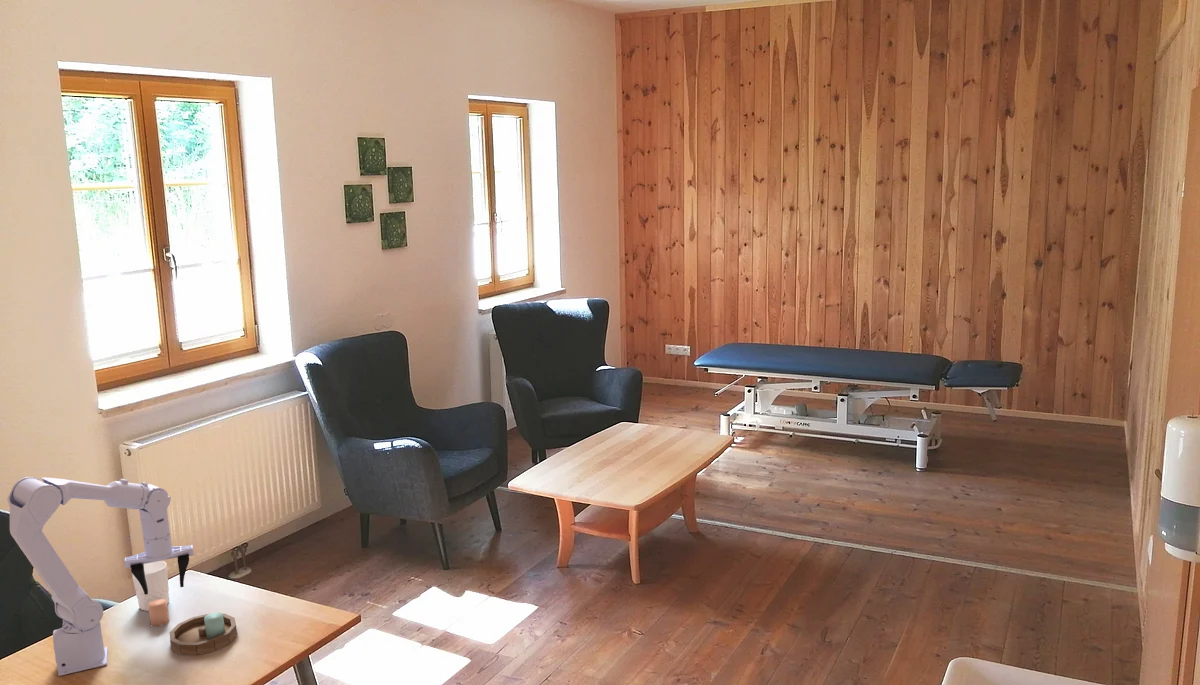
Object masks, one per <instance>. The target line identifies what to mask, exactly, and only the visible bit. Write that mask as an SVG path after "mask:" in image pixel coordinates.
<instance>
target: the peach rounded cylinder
mask: <svg viewBox="0 0 1200 685" xmlns="http://www.w3.org/2000/svg"><path fill="white" fill-rule="evenodd" d="M148 608H149V611H148V615H149V620H150V626H151V625H152V626H151V627H154V626H158V627H162V626H165V625H166V623H167V624H168V623H169V622H170V617H169V610H168V604H167V602H166V600H165V599H158V600H154V601H152V602H150V603H149V604H148ZM164 624H165V625H164Z"/></svg>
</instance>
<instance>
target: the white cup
mask: <svg viewBox="0 0 1200 685" xmlns="http://www.w3.org/2000/svg"><path fill="white" fill-rule="evenodd" d="M167 565H168V564H167V562H166V561H165V560H161V561H156V562H151V563H146V564H144V572H145V579H146V583H147V587H148V594H146V595H145V594H144V591H143V588H142V586H141V584H140V583H139V581H138V580H137V579H136V577H135V576H134V575H133V574H132V573H131V576H132V581H133V582H132V583H133V586H134V591H135V595H136V598H137V602H138V607H139V609H140V610H142V611H147V612H149V608H148V604H149V603H150V602H152V601H154V600H158V599H165V600H166V602H167V605H168V604H169V603H170V594H169V589H170V588H169V576H168V566H167Z"/></svg>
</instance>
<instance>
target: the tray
mask: <svg viewBox="0 0 1200 685" xmlns="http://www.w3.org/2000/svg"><path fill="white" fill-rule="evenodd" d="M208 614H209V613H206V614H202V615H197V616H192V617H190V618H189V619H185V620H183V621H182V622H179V623H178V624H176V626H175V627H174V628H172V630H170V631H169V641H170V642H169V643H170V649H171V651H172V652H175V653H177V654H178V655H180V656H199V655H203V654H208V653H212V652H215V651H218V650H219V649H220V650H221V649H222V648H224V647H225V646H228V645H229V644H231V643H232V641H233V640H234V639H235V638H236V637H237V635H238V629H237V623H236V619H235V617H234V616H231V615H228V614H226V613H222V614H223V619H224V627H225V633H223V634H221V635H219V636H217V637H215V638H213V639H210V640H207V636H206V629H205V621H204V617H205V616H206V615H208Z"/></svg>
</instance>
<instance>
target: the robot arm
mask: <svg viewBox="0 0 1200 685" xmlns="http://www.w3.org/2000/svg"><path fill="white" fill-rule="evenodd" d="M40 479H41V480H42V481H41V480H40ZM40 479H38V478H36V477H33V476H25V477H23V478H20V479H19V480H17V481H16V483H14V484H13V486H12V488H11V490H10V492H9V495H8V496H7V503H8V505H9V506H8V507H9V533H10V536H11V537H12V538H13V539H14V541H15V542H16V544H17V546H18V547H19V548H20V550H21V551H22V552H23V555H24V556H26V558H27V560H28V561H29V563H30V565H31V566H32V567H33V569H34V570H35V572H36V573H37V574H38V576H39V577H40V579H41V580H42V582H43V583H44V585H45V586H46V587H47V589H48V590H49V591H50V593H51V600H52V601H53V603H54V611H55V614H56V616H57V617H58V618H60V619H62V625H61V626H62V627H60V628H57V629H54V630H53V632H52V643H53V644H52V645H53V650H54V658H55V659H54V660H55V663H56V668H57V676H58V677H61V676H65V675H68V674H74V673H78V672H82V671H87V670H91V669H95V668H100V667H102V666H106V665H107V664H108V654H109V652H108V648H109V647H108V646H105V645H104V639H103V634H102V633H103V631H102V626H101V620H102V618H103V615H104V608H103V606H102V604H101V603H100V602H98V601H96V600H93V599H92V598H91V597H90V595H89V594H88V593H87V592H86V591H85V590H84V589H83V588H82V587H81V586H79V585H80V584H78V583H77V580H75V578H74V577H73V575H72V574H71V572H70V570H69V569H68V568H67V566H66V564H65V563H64V562H63V560H62V559H61V557H60V556H59V554H58V553H57V551H56V550H55V548H54V546H53V545H52V543H51V542H50V541H49V540H48V538H47V536H46V535H45V533H44V531H43V528H44V526H45V525H46V523H47V522H48V521H49V519H51V517H52V516H53V515H54V513H56V510H57V509H59V507H60V505H62V506H65V505H66V504H68V502H69V501H71V500H72V499H79V500H81V499H82V500H94V501H95V500H96V501H97V500H98V501H104V502H105V504H106V506H108V507H109V508H117V509H118V508H119V509H129V510H130V509H131V510H138V511H139V517H140V526H141V532H142V540H143V546H144V551H143V552H141V553H138V554H134V555H131V556H127V557H126V556H125V557H124V565H125V566H124V567H125V569H130V570H131V575H132V574H133V575H134V576H135V577H136V579H137V580H138V581H139V583H140V584H141V586H142V588H143V591H144V594H145V595H146V594H148V587H147V583H146V579H145V572H144V564H146V563H151V562H156V561H167V560H171V559H175V558H176V559H177V566H178V571H179V574H178V575H179V587H180V588H184V586H185V583H184V582H185V575H186V571H187V568H188V565H189V564H190V563H189V562H190V557H192V556H195V554H194V547H193V546H194V545H193V544H190V545H180V546H177V545H176V546H173V545H172V537H171V530H170V529H171V528H170V523H169V516H168V508H169V506H170V505H171V500H172V499H171V496H170V495H169V493H168V491H167V490H165V488H163V487H160V486H157V485H155V484H151V483H148V482H144V481H142V482H141V483H137V482H136V483H133V482H129V480H128V479H125V478H119V480H118V481H117V480H113V481H111V482H109V483H108V484H107V485H104V484H97V483H92V482H84V481H77V480H72V479H66V478H58V477H48V476H47V477H46V476H45V477H44V476H43V477H40Z"/></svg>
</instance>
